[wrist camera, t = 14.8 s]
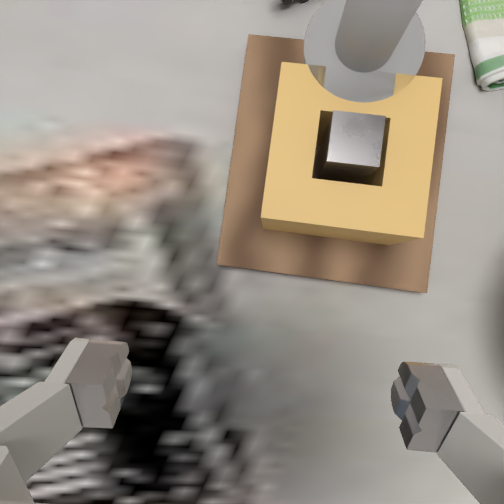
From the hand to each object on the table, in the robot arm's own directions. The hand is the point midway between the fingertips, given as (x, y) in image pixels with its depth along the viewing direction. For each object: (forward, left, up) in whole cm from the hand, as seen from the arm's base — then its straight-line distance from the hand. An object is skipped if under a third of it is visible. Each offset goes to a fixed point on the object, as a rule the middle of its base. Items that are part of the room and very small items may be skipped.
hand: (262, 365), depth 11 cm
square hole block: (+5, +16, -24) cm, 29 cm away
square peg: (+4, +13, -24) cm, 28 cm away
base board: (+5, +14, -26) cm, 30 cm away
